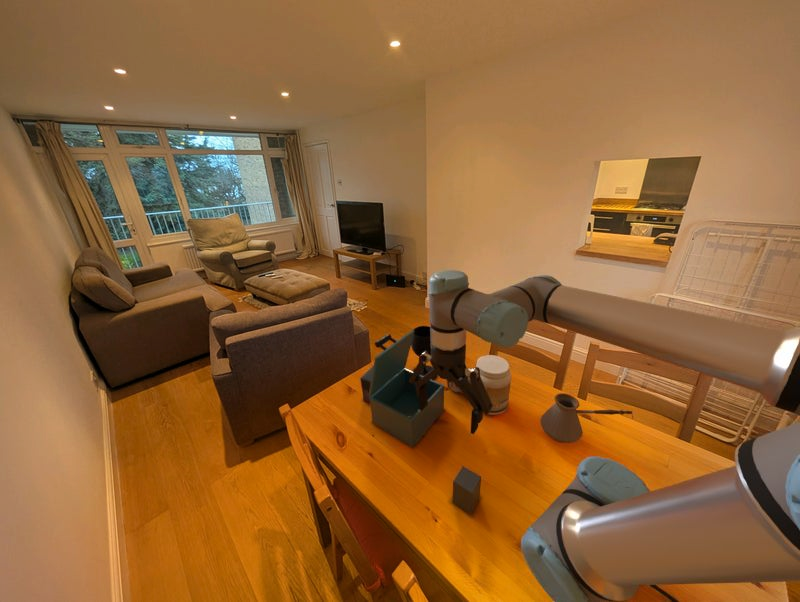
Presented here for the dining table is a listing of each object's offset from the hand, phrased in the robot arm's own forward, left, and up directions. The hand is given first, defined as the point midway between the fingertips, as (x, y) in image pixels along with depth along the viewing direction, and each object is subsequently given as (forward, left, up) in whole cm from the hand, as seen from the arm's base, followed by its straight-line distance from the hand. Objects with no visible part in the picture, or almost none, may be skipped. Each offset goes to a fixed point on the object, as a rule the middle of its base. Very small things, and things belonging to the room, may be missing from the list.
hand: (447, 418), depth 71 cm
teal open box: (+21, -11, -21) cm, 32 cm away
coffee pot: (-26, -33, -21) cm, 47 cm away
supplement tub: (+1, -32, -21) cm, 39 cm away
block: (-7, +3, -21) cm, 22 cm away
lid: (+26, -11, -2) cm, 29 cm away
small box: (+37, -13, -21) cm, 45 cm away
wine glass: (+29, -33, -21) cm, 49 cm away
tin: (+10, -33, -21) cm, 41 cm away
